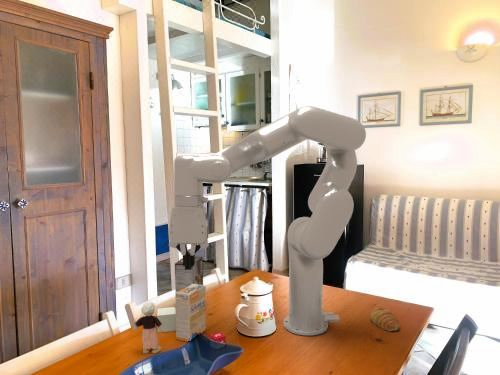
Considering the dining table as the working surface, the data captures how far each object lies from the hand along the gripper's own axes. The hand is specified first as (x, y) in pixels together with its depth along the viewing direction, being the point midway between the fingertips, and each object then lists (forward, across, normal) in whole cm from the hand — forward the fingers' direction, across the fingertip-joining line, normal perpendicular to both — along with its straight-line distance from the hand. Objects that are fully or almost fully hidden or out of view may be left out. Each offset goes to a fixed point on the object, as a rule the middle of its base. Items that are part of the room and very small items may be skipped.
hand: (188, 268), depth 102 cm
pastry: (+18, -56, -8) cm, 60 cm away
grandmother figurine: (+19, +8, +9) cm, 23 cm away
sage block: (+19, +7, -4) cm, 21 cm away
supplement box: (+19, -1, 0) cm, 19 cm away
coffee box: (+19, +3, -18) cm, 26 cm away
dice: (+19, -9, +6) cm, 22 cm away
